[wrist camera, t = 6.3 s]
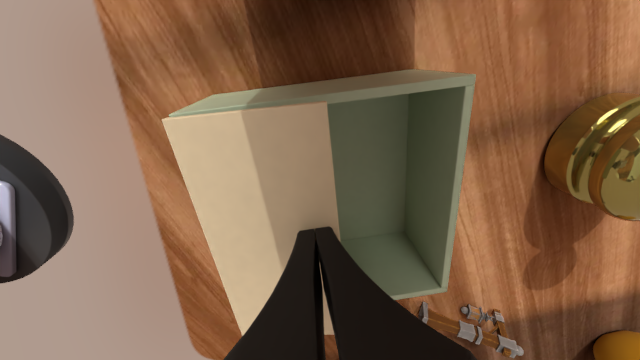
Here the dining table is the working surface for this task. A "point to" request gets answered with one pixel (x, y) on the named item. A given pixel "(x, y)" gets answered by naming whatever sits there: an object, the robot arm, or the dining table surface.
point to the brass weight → (600, 155)
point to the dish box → (387, 166)
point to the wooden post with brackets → (470, 331)
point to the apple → (618, 346)
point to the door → (257, 192)
